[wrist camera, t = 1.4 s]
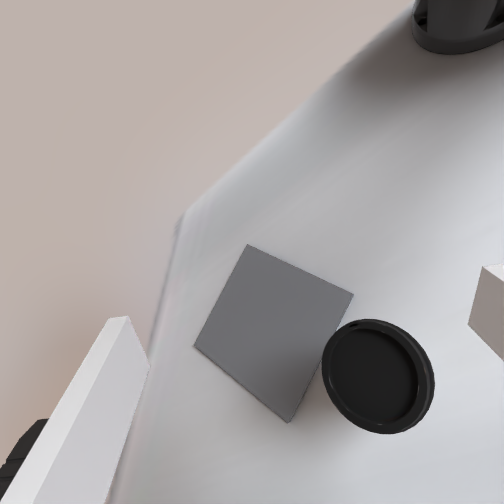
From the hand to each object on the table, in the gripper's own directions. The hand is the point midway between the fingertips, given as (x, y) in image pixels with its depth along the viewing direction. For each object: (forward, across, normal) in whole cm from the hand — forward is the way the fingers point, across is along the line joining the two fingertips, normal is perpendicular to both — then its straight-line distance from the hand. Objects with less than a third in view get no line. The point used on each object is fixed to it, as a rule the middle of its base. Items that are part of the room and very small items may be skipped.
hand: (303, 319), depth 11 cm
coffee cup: (+15, +11, -22) cm, 29 cm away
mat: (+24, -2, -22) cm, 33 cm away
